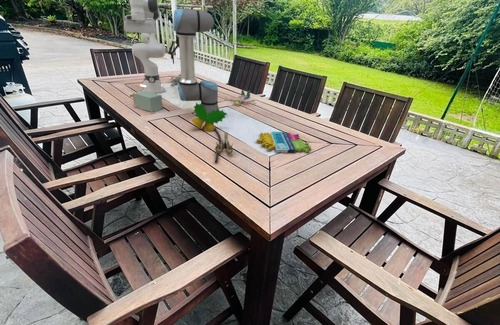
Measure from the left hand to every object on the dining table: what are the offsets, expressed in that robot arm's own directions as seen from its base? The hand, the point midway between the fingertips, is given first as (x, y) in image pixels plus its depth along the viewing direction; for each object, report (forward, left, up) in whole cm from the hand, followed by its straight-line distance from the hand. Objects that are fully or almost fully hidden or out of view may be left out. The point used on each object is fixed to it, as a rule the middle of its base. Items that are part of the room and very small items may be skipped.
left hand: (141, 39), depth 183 cm
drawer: (+12, -3, -43) cm, 45 cm away
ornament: (+60, +40, -44) cm, 85 cm away
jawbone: (+92, +45, -44) cm, 112 cm away
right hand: (-13, +27, -17) cm, 35 cm away
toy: (+2, +74, -44) cm, 86 cm away
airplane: (-68, +25, -44) cm, 85 cm away
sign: (+85, +80, -44) cm, 125 cm away
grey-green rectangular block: (+16, +1, -44) cm, 47 cm away
